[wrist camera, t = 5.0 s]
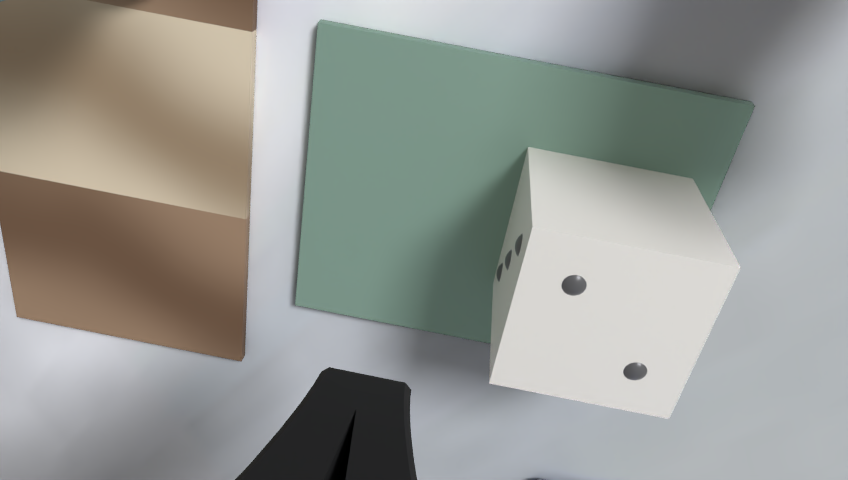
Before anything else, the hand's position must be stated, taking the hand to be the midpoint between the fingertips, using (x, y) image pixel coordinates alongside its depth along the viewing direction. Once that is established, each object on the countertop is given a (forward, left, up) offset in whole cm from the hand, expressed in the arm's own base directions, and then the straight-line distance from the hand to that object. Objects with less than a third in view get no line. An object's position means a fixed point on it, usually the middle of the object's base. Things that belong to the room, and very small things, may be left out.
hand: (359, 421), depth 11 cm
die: (0, -4, -8) cm, 9 cm away
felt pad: (0, -2, -8) cm, 8 cm away
